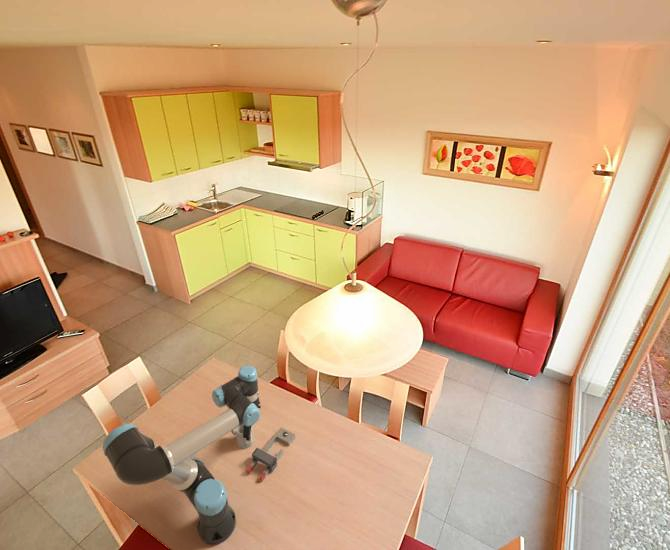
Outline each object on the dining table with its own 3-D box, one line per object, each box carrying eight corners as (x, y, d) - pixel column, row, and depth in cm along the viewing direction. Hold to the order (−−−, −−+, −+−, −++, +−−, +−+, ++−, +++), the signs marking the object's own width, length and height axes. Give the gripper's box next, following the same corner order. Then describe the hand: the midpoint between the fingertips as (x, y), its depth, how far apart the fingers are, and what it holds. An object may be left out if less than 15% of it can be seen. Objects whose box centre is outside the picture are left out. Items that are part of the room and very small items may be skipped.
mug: (257, 436, 200) (255, 422, 195) (249, 450, 193) (247, 435, 188) (236, 430, 203) (234, 416, 198) (228, 444, 196) (225, 429, 191)
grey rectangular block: (258, 455, 191) (257, 447, 188) (277, 465, 186) (276, 458, 183) (252, 461, 188) (251, 453, 185) (272, 472, 183) (271, 464, 180)
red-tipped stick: (281, 451, 192) (280, 448, 191) (283, 453, 192) (283, 450, 191) (259, 480, 179) (259, 477, 178) (261, 481, 179) (261, 478, 178)
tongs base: (281, 430, 204) (280, 426, 202) (295, 437, 200) (295, 433, 199) (246, 473, 183) (246, 469, 181) (262, 482, 179) (261, 478, 178)
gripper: (250, 420, 157) (254, 455, 167) (265, 377, 179) (267, 410, 189) (232, 419, 158) (237, 453, 168) (249, 376, 180) (252, 409, 190)
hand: (253, 430), depth 179 cm, fingers open, 13 cm apart
